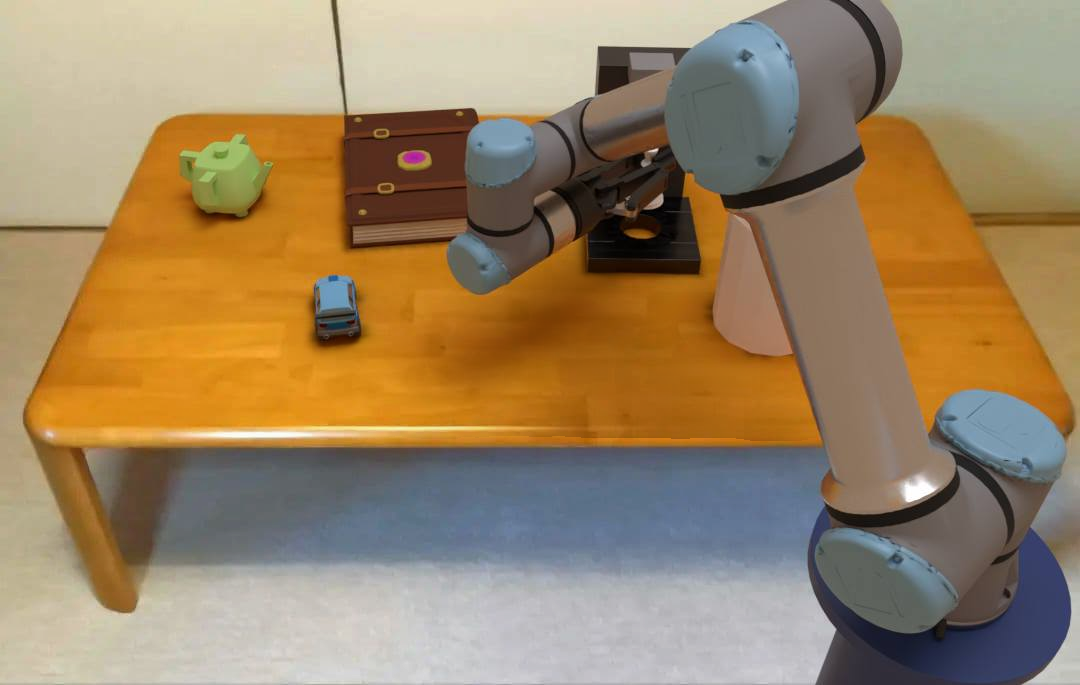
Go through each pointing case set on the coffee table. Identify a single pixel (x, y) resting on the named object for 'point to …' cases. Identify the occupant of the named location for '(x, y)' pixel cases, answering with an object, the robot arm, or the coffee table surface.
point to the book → (406, 175)
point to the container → (747, 296)
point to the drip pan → (647, 242)
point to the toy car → (336, 307)
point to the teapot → (225, 176)
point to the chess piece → (645, 162)
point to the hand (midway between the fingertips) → (675, 145)
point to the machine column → (632, 66)
